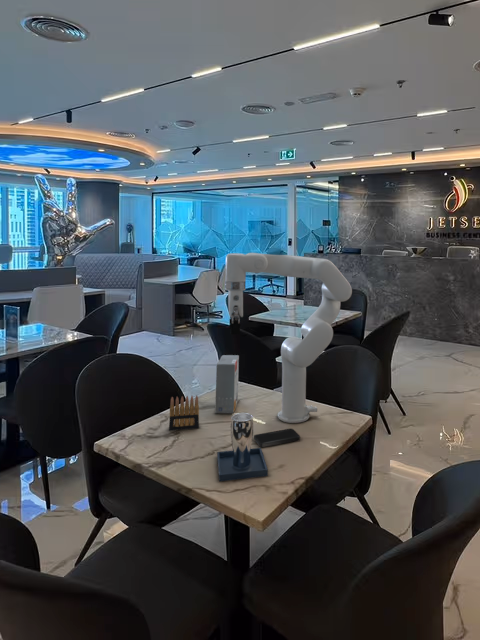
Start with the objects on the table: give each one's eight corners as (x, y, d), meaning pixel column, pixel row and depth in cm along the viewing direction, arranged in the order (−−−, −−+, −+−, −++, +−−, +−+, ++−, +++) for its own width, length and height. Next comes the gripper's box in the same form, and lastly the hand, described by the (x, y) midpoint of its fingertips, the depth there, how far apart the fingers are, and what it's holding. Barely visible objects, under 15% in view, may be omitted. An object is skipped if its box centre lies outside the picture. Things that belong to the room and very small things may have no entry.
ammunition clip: (198, 426, 165) (199, 394, 165) (198, 428, 163) (199, 395, 163) (169, 428, 162) (169, 396, 162) (168, 430, 160) (169, 397, 160)
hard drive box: (234, 414, 176) (234, 364, 176) (214, 414, 176) (215, 364, 176) (238, 400, 192) (239, 354, 192) (220, 400, 192) (221, 354, 192)
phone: (300, 436, 154) (260, 444, 148) (300, 440, 154) (260, 447, 148) (292, 427, 161) (253, 434, 155) (292, 431, 161) (253, 437, 155)
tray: (260, 453, 144) (261, 447, 144) (267, 475, 130) (267, 469, 130) (217, 457, 141) (217, 451, 141) (219, 481, 127) (219, 475, 127)
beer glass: (254, 460, 139) (255, 413, 139) (250, 471, 132) (250, 422, 132) (233, 458, 139) (234, 411, 140) (227, 470, 133) (228, 420, 133)
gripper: (247, 288, 158) (246, 336, 158) (243, 283, 175) (242, 326, 174) (226, 288, 156) (225, 336, 156) (224, 283, 173) (223, 327, 173)
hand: (234, 331), depth 165 cm, fingers open, 9 cm apart
